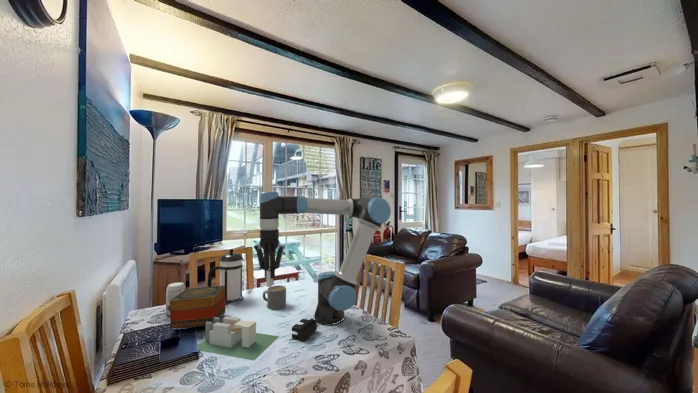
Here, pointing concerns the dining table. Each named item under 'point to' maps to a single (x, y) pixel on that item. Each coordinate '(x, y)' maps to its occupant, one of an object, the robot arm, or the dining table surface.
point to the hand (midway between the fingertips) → (269, 285)
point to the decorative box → (197, 307)
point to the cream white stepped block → (247, 332)
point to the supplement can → (173, 293)
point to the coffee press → (230, 275)
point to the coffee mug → (275, 297)
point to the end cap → (304, 329)
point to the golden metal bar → (231, 327)
